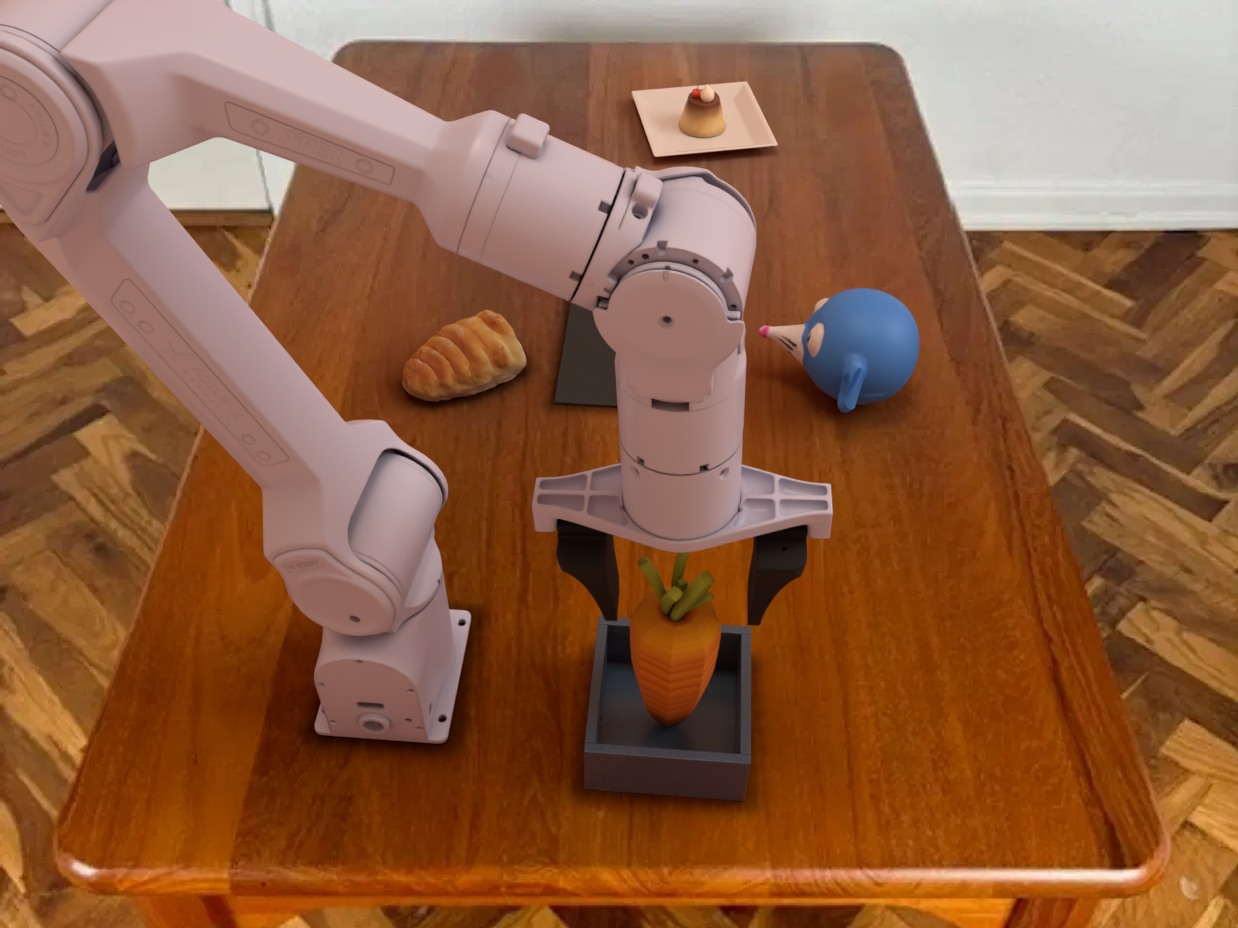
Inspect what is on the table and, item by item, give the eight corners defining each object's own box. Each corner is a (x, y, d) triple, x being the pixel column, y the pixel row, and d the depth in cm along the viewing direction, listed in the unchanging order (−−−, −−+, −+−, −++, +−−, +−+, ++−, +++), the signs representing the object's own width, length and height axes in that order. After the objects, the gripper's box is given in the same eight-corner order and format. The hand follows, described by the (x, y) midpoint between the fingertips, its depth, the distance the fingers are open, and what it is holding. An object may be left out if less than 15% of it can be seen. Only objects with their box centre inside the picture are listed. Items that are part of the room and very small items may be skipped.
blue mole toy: (764, 323, 97) (775, 238, 91) (912, 345, 96) (933, 261, 89) (741, 424, 89) (751, 339, 83) (902, 451, 88) (924, 366, 81)
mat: (685, 411, 90) (686, 409, 90) (554, 403, 91) (554, 401, 91) (691, 309, 98) (691, 308, 98) (570, 303, 99) (570, 301, 99)
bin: (744, 801, 69) (750, 764, 65) (584, 789, 69) (583, 751, 66) (745, 666, 75) (751, 626, 72) (598, 655, 75) (598, 615, 72)
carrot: (610, 715, 72) (611, 560, 61) (674, 673, 74) (686, 515, 63) (662, 775, 69) (672, 624, 58) (726, 729, 71) (748, 575, 60)
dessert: (630, 101, 121) (631, 57, 117) (746, 91, 122) (750, 47, 119) (653, 166, 113) (655, 121, 109) (777, 155, 114) (782, 110, 111)
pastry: (432, 424, 89) (426, 386, 86) (385, 376, 93) (378, 339, 90) (534, 371, 93) (532, 334, 90) (485, 327, 97) (481, 290, 94)
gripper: (835, 374, 57) (814, 554, 67) (534, 370, 58) (557, 547, 68) (844, 482, 52) (820, 659, 62) (516, 476, 53) (543, 650, 63)
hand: (682, 608), depth 65 cm, fingers open, 7 cm apart
